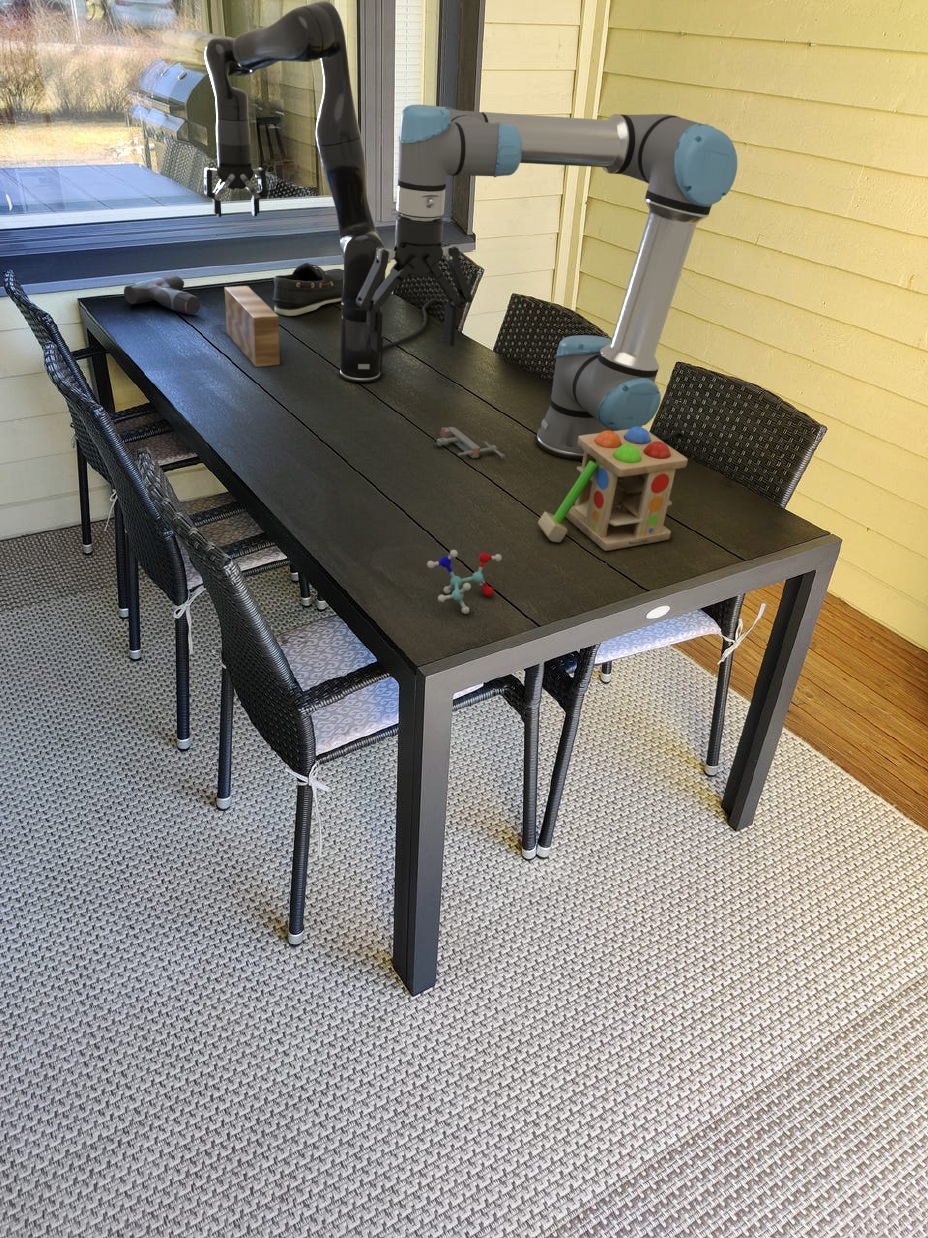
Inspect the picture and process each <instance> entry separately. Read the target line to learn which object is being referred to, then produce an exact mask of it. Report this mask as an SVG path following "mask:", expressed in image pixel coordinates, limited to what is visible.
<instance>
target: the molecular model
mask: <svg viewBox="0 0 928 1238" xmlns="http://www.w3.org/2000/svg"><path fill="white" fill-rule="evenodd" d="M458 555H459V552H458V550H457V549H452V550H450V551H449V555H448V556H445V555H444V556H442V557H441V558H440V560H438V561H433V560H428V561H427V563H426V567H427V568H428V569H434V568H435V567H436V566H442V568H446V569H447V571H448V573H449V575H450V577H451V578H450V582H449V583H450V584H449V585H448V586H447V585H446V586H444V588H443V593H444V594H445V595H444V594H439V595H438V596H437V601H438V602H439V603H445V602H446V601H447V600H453V601H455V602H458V603H459V605H460V607H461V613H462V614H464V615H468V614H469V613H470V607H469V606H467V605H466V604H465V602H464V600H463V599H464V597H465V596H464V595H465V594H464V593H465V592H466V591H467V592H468V591H470V590H471V588H472V585H471V583H469V582H471V581H473V583H474V584H478V586H479V587H480V588H481V590H482V591H483V595H484V596H485V597H488V598H490V597H492V596H493V595H494V593H495V591H494V588H493V587H492V586H489V585H488V583H487V582H486V581H485V579H484V574H483V573H482V572H483V569H484V566H485V564H486V563H488V562H489V561H495V562H497V563H499V562H501V561H502V559H503V557H502V555H501V554H500V553H495V555H489V554H488V553H487V552H482V553H480V554H479V557H478V559H479V561H480V563H479V566H478V569H477V571H475V572H473V573H472V575H471V576H468V577H464V578H461V577H460V576H458V575H455V572H454V570H453V568H452V567H451V564H452V559H454V558H457V557H458ZM461 586H462V588H461V589H460V587H461ZM453 588H454V589H453ZM452 590H453V591H452ZM451 592H452V593H451ZM450 593H451V594H450Z"/></svg>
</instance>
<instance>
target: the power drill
mask: <svg viewBox="0 0 928 1238" xmlns="http://www.w3.org/2000/svg"><path fill="white" fill-rule="evenodd" d="M184 287H185V281H184V279H183V278H181V277H180V276H179V275H171V276H167V277H166V276H165V277H155V278H152V279H147V280H144V281H139V282H136V283H132V284H131V283H130V284H128V285H126V286H124V289H123V296H124V298H125V299H124V300H125V301H126V302H127V303H128V304H129V305H131V306H132V305H139V304H144V303H148V302H152V301H155V302H157V303H158V304H159V305H160V306H163V307H165V308H168V309H170V310H172V311H175V312H178V313H180V314H184V315H191V316H193V315H196V314H197V313H198V312H199V310H200V307H201V302H200V299H199V298H198V297H197V296H195V295H194V294H191V293H189V292H186V291H183V289H184Z"/></svg>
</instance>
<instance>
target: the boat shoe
mask: <svg viewBox="0 0 928 1238" xmlns="http://www.w3.org/2000/svg"><path fill="white" fill-rule="evenodd" d="M272 281H273V283H274V291H273V297H272V301H273V302H274V307H273V308H274V312H275V313H276V314H277V315H281V316H288V317H292V316H299V315H303V314H306V313H309V312H312V311H316V310H317V309H319V308H320V307H321V306H323V305H326V304H331V303H337V302H342V301H341V298H342V289H343V283H344V269H342V268H331V269H327V270H324V269H322V267H321V266H318V265H316V264H312V263H308V262H304V263H302V264H300V265H298V266H297V267H296V268H295V269H294V270H293V271H292V273H291V274H290V273H289V274H283V275H281V274H279V275H275V276H274V277H273V280H272Z"/></svg>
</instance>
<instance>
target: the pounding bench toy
mask: <svg viewBox="0 0 928 1238" xmlns="http://www.w3.org/2000/svg"><path fill="white" fill-rule="evenodd" d="M657 437H658V436H657V435H654V434H653V433H652V432H650V431H649V430H648V429H647V428H645V427H643V426H642V427H633V428H631V429H627V430H619V431H613V430H608V429H607V431H603V432H601V433H596V434H588V435H581V436H579V437H578V443H577V445H578V446H579V447H580V448H582V449H583V450H584V456H583V460H582V462H581V466H580V465H579V466H578V465H577V466H576V471H577V470H578V471H579V472H580V474H579V477H578V478H577V480H576V481H575V483H574V484H573V486H572V487H571V489H570V490H569V492H568V493H567V495H566V496H565V498H564V499H563V501H562V503H561V504H560V506H559V507H558V509H557V510H556V512H555V514H552V513H550V512H548V511H544V512H543V513H542V515H541V516H540V518H539V519H538V520H537V525H538V526H539V527H540V530H542V532H543V533H544V535H545V536H546V537H547V538H548V540H549V541H551V542H553V543H561V542H562V541H563V539H564V538H565V536H566V535H567V533H568V531H569V530H568V528H567V527H566V526H565V524H564V523H563V521H564V520H565V518H566V519H567V520H568V521H569V522H570V523H572V524H573V525H574V526H575V527H576V528H577V529H579V530H580V531H581V532H582V533H583V534H585V535H586V536H587V537H588V538H589V539H590V540H591V541H593V542H594V543H595V544H596V545H597V546H599V547H600V548H601V549H602V550H603V551H605V552H609V551H614V550H619V549H625V548H629V547H636V546H641V545H647V544H648V545H649V544H652V543H657V542H658V543H659V542H663V541H669V540H670V538H671V534H672V531H671V530H670V529H669V528H667V527H666V526H665V525H664V524H665V519H666V515H667V511H668V507H669V506H671V505H673V501H672V500H670V498H671V497H670V496H671V492H672V487H673V483H674V478H675V475H676V470H677V469H684V468H686V467H687V465H688V462H689V461H688V460H689V459H688V458H687V457H686V456H684V455H683V454H681V453H680V452H678V451H677V450H676V449H674V448H673V447H672V446H670V445H668V444H667V443H666V442H665V441H661V440H660V439H658V438H657Z"/></svg>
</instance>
